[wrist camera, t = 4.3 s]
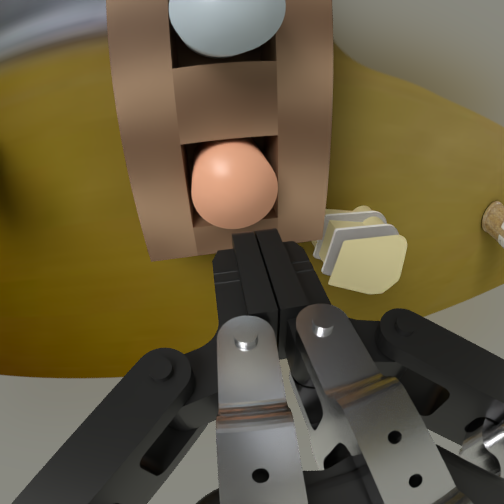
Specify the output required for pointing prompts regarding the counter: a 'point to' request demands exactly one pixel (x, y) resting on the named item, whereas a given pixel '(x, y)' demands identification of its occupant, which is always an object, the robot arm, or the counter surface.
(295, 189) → the button panel
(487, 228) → the sprinkles bottle
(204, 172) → the brown egg
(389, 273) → the stacked layers on plate
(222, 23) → the blue-grey egg
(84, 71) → the counter surface
